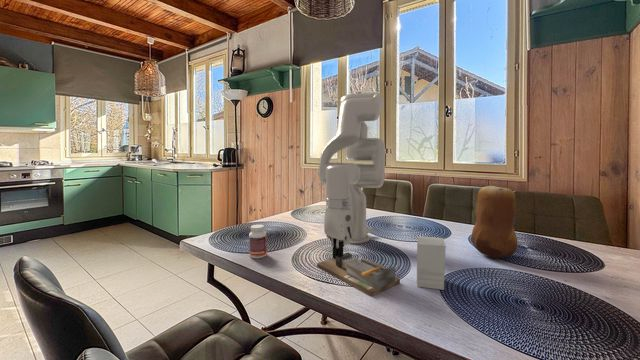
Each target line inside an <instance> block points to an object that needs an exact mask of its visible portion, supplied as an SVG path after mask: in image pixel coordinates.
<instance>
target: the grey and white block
mask: <svg viewBox="0 0 640 360" xmlns="http://www.w3.org/2000/svg"><path fill="white" fill-rule="evenodd" d="M350 263H351V264H353V265H355V266H357V267H359V268H362V269H364V270H366V271H368V270H371V269H373V268H376V267H374V266H371V265H369V264H367V263H365V262H362V261H361V260H359V259H358V258H356V257H353V254H352V253H350V252H345V253H343V254H341V255H338V256H336V266H338V267H343V268H345V269H347V264H350Z"/></svg>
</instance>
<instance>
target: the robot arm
mask: <svg viewBox="0 0 640 360" xmlns="http://www.w3.org/2000/svg"><path fill="white" fill-rule="evenodd" d="M339 102H340V103H339V105H340V106H339V112H338V120H337V126H336V134H335V135H334V137H332V138H331V139H330V140H329V142H327V144H326V145H325V146H324V148H323V149H322V151H321V154H320V156H319V157H320V159H319V165H318V179H319V181H320V182H321V183H322V184H324V185H325V204H326V205H325V209H324V219H323V222H324V223H323V227H324V228H323V229H324V233H325V236H326V238H327V239H329V240H330V245H331V247H332V259H336V256H338V255H341V254H344V247H345V246H347V245H352V244H353V245H354V244H357V245H358V244H365V243H367V242H369V241H370V239H371V238H370V235H369V233H372V232H374V229H375V228H374V227H373V226H370V227H367V197H366V194H365V193H364V191H363V190H362V188H365V189H367V188H370V189H371V188H372V189H379V188H382V186H383V185H384V182H385V171H386V170H385V169H386V145H385V142H384V140H383V139H381V138H378V137H368V130H369V129H368V128H369V127H368V125H367V123H366V122H375V121H377V120H378V119H379V117H380V115H381V114H382V111H383V108H384V99H383V96H382V94H381V93H380V92H363V93H360V92H359V93H349V94H346V95H343V96H342V97H341V98H340V101H339ZM344 149H345V153H346V154H345V155H346V158H347V160H349V161H351V162H331V160H332V157H334V155H336V154H337V153H338V152H340V151H342V150H344ZM353 162H372V163H369V164H368V163H367V164H366V163H353Z"/></svg>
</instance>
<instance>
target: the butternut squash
mask: <svg viewBox="0 0 640 360" xmlns="http://www.w3.org/2000/svg"><path fill="white" fill-rule="evenodd" d="M476 198H477V202H476V209H475V212H474V214H475V217H476V220H475V224H474V226H473V228H472V230H471V231H472V232H471V238H470V241H471V243H472V245H473V246H474V248H475V249H476V250H477V251H478V252H479V253H480V254H482V255H484V256H488V257H490V258H491V259H493V260H494V259H496V260H501V259H506V258H509V257H511V256H513V255H514V254H515V253H516V251H517V248H518V238H517V234H516V231H515V229H514V220H515V215H516V213H517V212H516V195H515V193H514V191H513V190H512V189H510V188H508V187H500V186H496V185H488V186H483V187H482V188H480V189H479V191H478V193H477V197H476Z"/></svg>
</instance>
